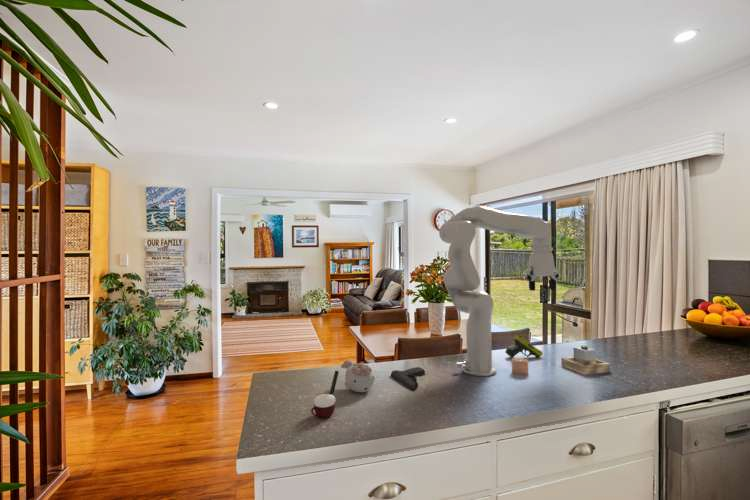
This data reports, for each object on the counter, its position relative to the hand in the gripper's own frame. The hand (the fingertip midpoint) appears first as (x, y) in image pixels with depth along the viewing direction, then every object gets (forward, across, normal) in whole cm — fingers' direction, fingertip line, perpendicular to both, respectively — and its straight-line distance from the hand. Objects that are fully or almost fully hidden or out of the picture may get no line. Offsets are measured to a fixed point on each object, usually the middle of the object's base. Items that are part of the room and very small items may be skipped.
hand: (542, 289), depth 168 cm
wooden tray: (+30, -7, +16) cm, 35 cm away
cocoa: (+31, +96, +33) cm, 106 cm away
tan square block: (+30, +20, +14) cm, 39 cm away
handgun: (+31, +61, +11) cm, 70 cm away
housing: (+28, -7, +16) cm, 33 cm away
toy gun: (+30, +6, -5) cm, 31 cm away
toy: (+31, +84, +14) cm, 90 cm away
